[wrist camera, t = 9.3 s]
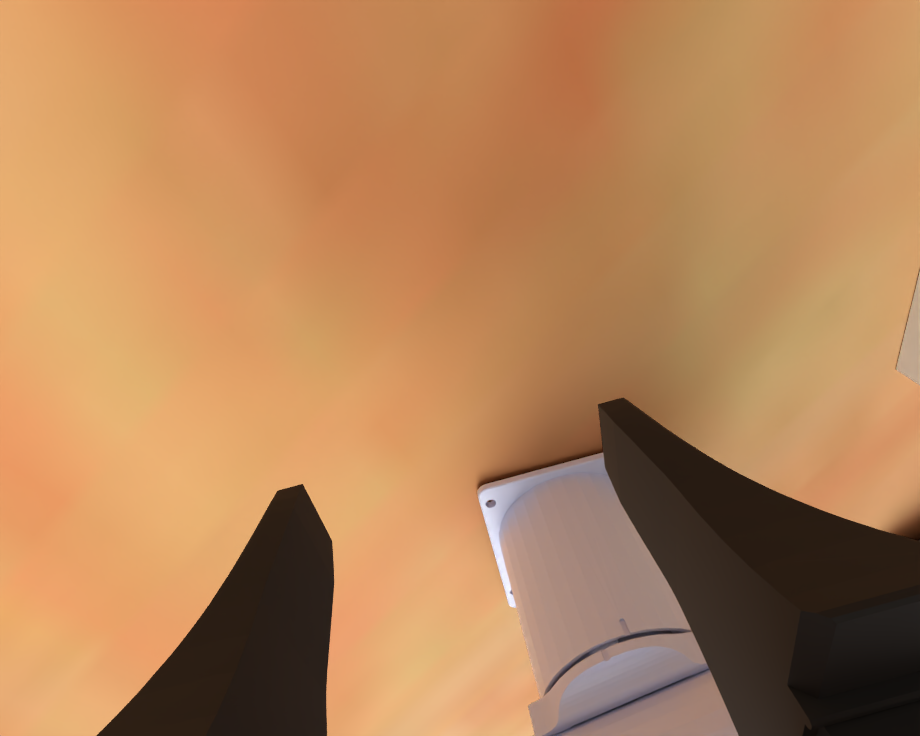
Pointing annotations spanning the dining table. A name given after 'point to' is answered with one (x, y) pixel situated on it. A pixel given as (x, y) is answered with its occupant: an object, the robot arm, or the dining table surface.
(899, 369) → the dock
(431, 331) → the dining table surface
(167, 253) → the dining table surface
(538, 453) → the dining table surface
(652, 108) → the dining table surface
